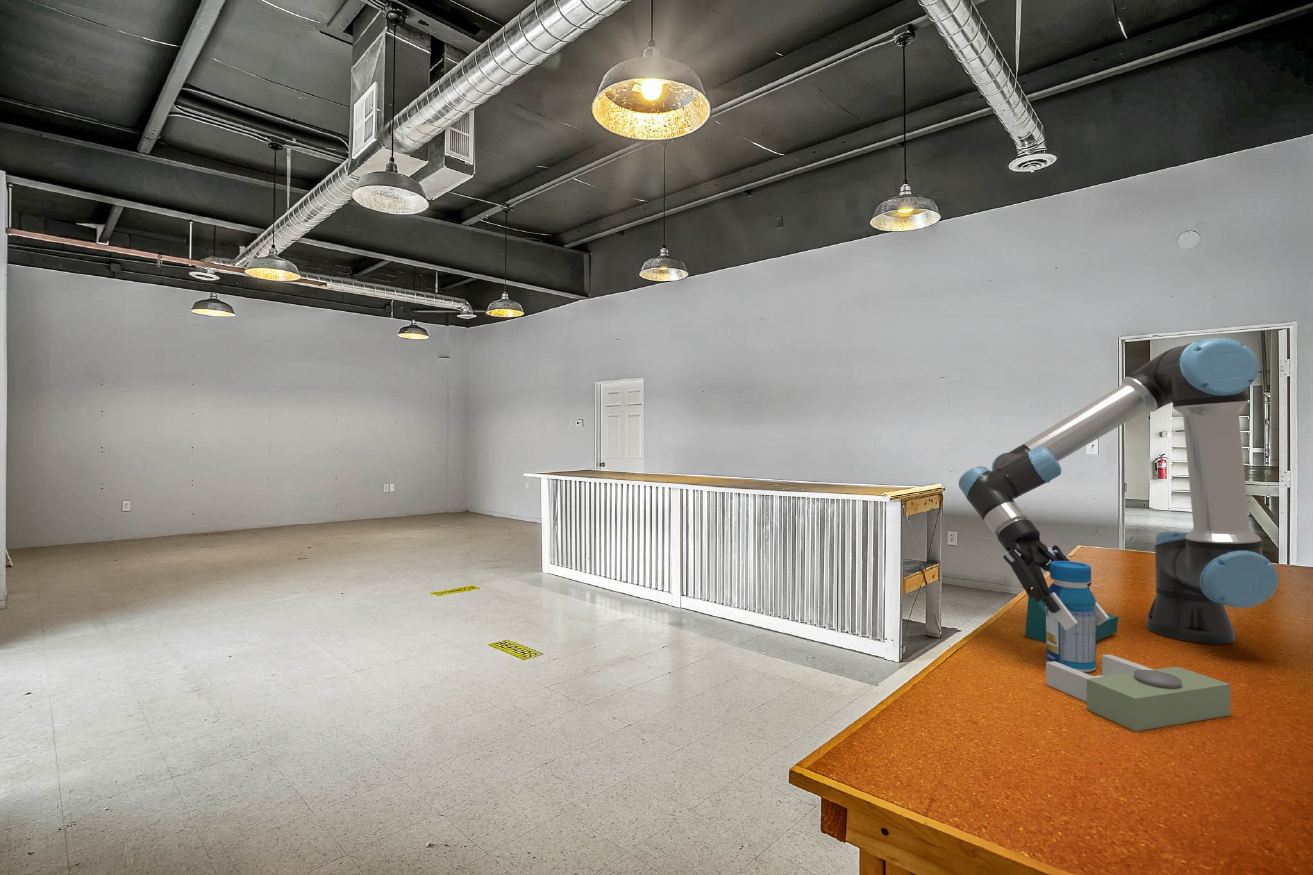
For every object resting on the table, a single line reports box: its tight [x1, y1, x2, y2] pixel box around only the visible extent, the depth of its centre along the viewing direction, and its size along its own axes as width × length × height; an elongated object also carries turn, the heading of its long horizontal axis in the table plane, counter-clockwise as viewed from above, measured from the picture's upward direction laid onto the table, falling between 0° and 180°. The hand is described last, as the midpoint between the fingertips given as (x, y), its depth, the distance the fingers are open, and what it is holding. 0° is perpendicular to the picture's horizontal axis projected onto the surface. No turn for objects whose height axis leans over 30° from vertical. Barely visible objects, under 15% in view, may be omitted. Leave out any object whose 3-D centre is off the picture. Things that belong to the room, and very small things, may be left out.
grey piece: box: [1045, 653, 1232, 732], centre depth 105 cm, size 20×18×6 cm
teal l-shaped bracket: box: [1024, 595, 1119, 644], centre depth 138 cm, size 18×11×10 cm, turn 123°
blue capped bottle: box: [1045, 560, 1097, 673], centre depth 121 cm, size 8×8×20 cm
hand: (1087, 623), depth 118 cm, fingers closed on blue capped bottle, 8 cm apart
